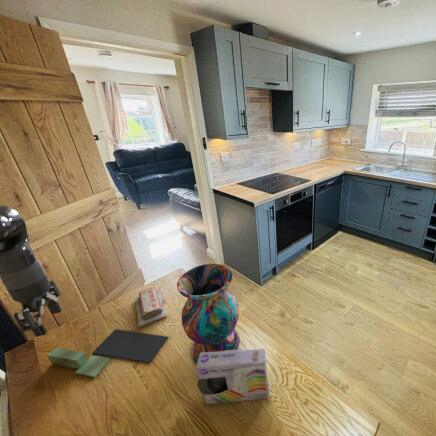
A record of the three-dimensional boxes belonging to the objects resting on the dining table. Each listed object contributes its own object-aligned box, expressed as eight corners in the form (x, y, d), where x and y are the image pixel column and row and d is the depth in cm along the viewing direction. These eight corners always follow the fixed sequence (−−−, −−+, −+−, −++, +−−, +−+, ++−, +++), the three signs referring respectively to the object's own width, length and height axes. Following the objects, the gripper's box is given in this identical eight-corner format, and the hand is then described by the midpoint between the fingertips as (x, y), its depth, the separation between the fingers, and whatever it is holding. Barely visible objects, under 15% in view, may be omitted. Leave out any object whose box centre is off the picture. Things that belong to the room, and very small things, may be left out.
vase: (240, 320, 97) (234, 258, 84) (243, 362, 81) (236, 293, 68) (192, 328, 93) (179, 265, 80) (185, 375, 76) (167, 304, 64)
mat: (92, 353, 82) (92, 352, 82) (115, 329, 92) (115, 329, 91) (150, 362, 80) (149, 362, 80) (168, 337, 89) (168, 336, 89)
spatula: (47, 369, 77) (41, 360, 75) (65, 352, 83) (60, 343, 81) (94, 377, 75) (90, 368, 73) (110, 359, 81) (106, 350, 79)
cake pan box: (201, 406, 68) (191, 366, 61) (206, 388, 73) (197, 349, 66) (268, 402, 70) (266, 362, 62) (268, 384, 74) (267, 345, 67)
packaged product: (132, 292, 104) (157, 283, 109) (135, 300, 106) (160, 292, 111) (136, 319, 90) (165, 308, 96) (139, 328, 92) (167, 316, 98)
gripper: (23, 266, 68) (46, 309, 75) (-14, 300, 56) (17, 347, 63) (56, 261, 70) (76, 303, 77) (27, 293, 58) (53, 339, 65)
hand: (49, 323), depth 70 cm, fingers open, 8 cm apart
